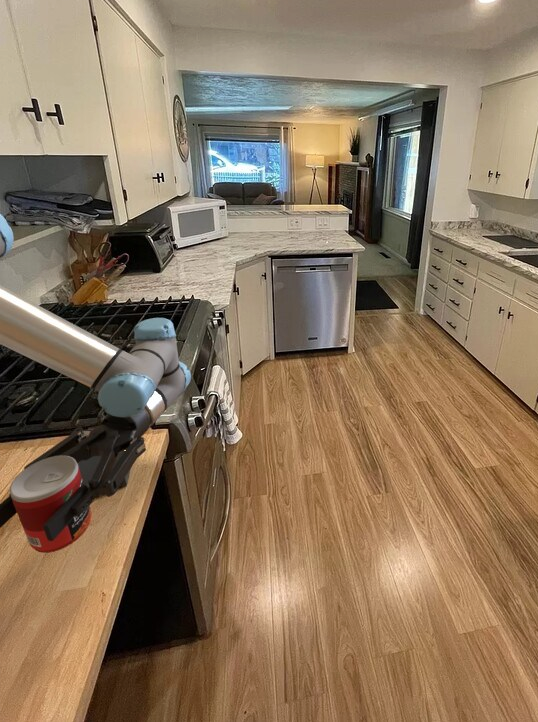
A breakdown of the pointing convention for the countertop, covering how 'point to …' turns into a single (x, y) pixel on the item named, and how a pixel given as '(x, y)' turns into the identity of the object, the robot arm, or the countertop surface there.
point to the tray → (90, 466)
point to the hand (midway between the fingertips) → (20, 527)
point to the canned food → (48, 501)
